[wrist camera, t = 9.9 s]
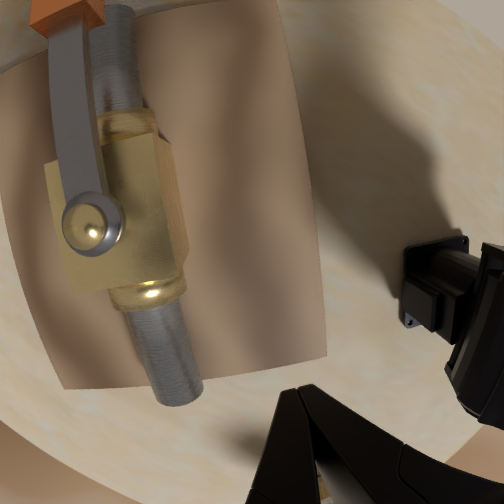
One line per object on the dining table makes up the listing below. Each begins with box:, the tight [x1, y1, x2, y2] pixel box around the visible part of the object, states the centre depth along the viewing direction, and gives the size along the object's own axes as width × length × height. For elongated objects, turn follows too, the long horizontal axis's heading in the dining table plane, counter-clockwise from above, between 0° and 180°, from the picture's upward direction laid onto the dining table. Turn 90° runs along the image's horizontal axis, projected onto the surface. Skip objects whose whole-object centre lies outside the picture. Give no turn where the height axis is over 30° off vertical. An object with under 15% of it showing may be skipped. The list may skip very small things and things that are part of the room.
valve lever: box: [29, 0, 126, 257], centre depth 9 cm, size 14×3×3 cm, turn 11°
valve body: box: [44, 5, 204, 407], centre depth 15 cm, size 5×23×6 cm, turn 9°
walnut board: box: [0, 0, 327, 389], centre depth 18 cm, size 20×24×2 cm
